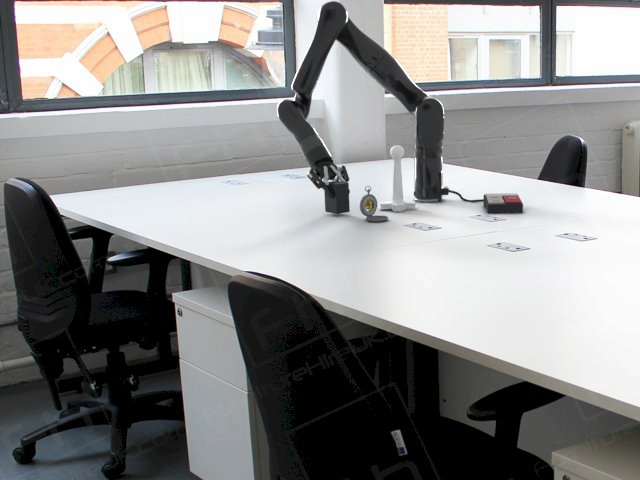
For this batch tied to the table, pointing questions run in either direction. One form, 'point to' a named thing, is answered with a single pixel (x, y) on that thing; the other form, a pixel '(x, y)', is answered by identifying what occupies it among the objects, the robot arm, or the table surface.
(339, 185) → the dark grey rectangular block
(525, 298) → the table surface
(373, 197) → the pocket watch
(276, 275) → the table surface
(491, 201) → the control box
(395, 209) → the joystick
